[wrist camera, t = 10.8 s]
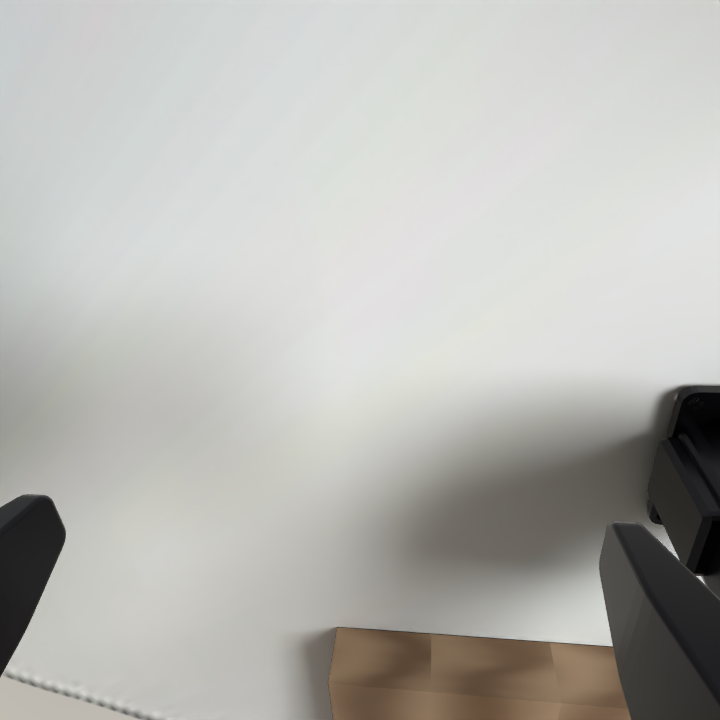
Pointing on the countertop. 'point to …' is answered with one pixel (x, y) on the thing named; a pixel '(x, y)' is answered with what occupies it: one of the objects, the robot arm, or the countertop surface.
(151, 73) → the countertop surface
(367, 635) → the board
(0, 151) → the countertop surface
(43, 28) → the countertop surface
